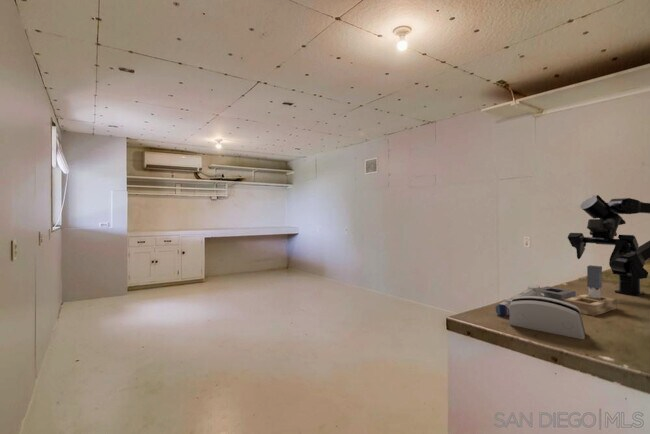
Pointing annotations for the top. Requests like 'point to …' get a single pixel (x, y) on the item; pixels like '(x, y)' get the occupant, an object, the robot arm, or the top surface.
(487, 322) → the top surface
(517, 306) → the grey arched slab
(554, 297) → the socket
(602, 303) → the rack
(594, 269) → the tall grey square pillar
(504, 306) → the white bulb-headed handheld tool
